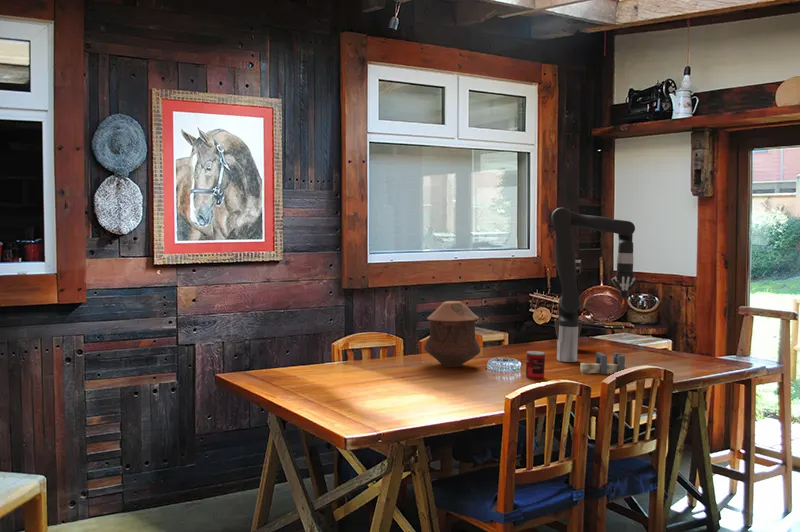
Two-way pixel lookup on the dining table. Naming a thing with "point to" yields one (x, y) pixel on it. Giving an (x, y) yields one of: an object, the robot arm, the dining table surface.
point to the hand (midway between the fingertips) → (623, 298)
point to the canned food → (535, 364)
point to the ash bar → (598, 368)
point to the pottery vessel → (452, 334)
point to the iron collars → (617, 359)
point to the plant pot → (558, 327)
